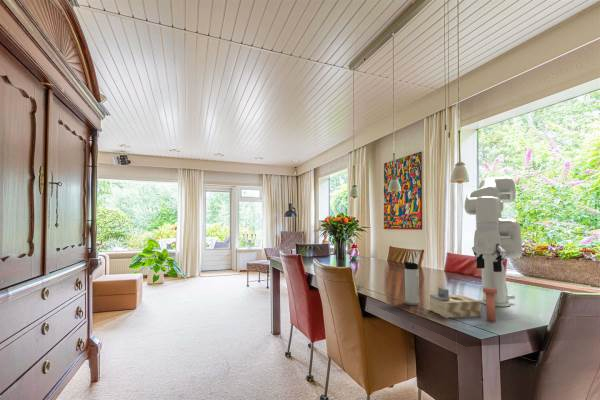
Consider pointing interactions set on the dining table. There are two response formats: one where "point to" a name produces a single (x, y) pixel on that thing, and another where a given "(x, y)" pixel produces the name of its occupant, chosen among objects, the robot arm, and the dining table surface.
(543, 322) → the dining table surface
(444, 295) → the keeper
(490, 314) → the pin
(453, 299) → the block
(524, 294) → the dining table surface
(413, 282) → the travel mug
